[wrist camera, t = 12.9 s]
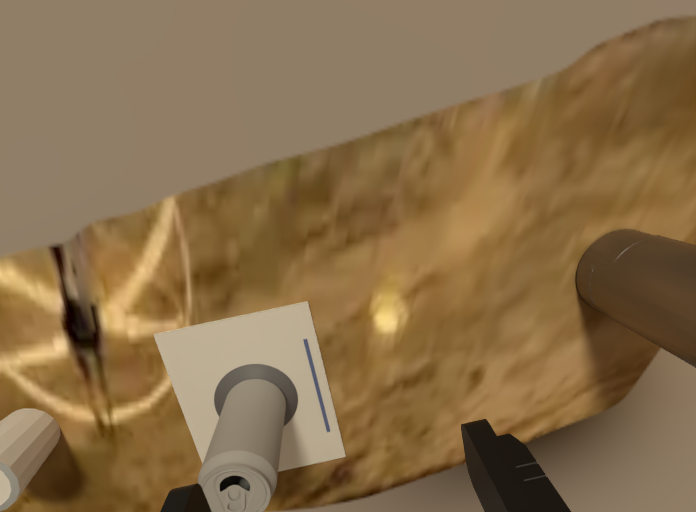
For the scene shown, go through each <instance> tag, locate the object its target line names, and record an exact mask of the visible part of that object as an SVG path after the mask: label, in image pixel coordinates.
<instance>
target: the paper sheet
mask: <svg viewBox="0 0 696 512" xmlns="http://www.w3.org/2000/svg"><path fill="white" fill-rule="evenodd" d="M154 338H155V341H156V343H157V346H158V348H159V351H160V354H161V356H162V359H163V362H164V364H165V367H166V369H167V372H168V375H169V377H170V380H171V383H172V385H173V388H174V390H175V393H176V396H177V398H178V401H179V403H180V406H181V409H182V411H183V414H184V417H185V419H186V422H187V424H188V427H189V430H190V432H191V435H192V438H193V440H194V443H195V445H196V448H197V451H198V453H199V456H200V458H201V461H202V464H203V462H204V459H205V456H206V453H207V450H208V448H209V445H210V442H211V439H212V436H213V434H214V431H215V428H216V425H217V423H218V420H219V417H220V414H221V411H222V409H223V406H224V403H225V400H226V397H227V395H228V393H229V392H230V390H231V389H232V388H233V387H234V386H235V385H237V384H238V383H240V382H242V381H245V380H249V379H262V380H266V381H269V382H271V383H273V384H274V385H276V386H277V387H278V388H279V389H280V390H281V391H282V393H283V395H284V397H285V401H286V409H285V418H284V426H283V435H282V443H281V451H280V460H279V468H278V472H279V471H284V470H288V469H293V468H298V467H302V466H307V465H311V464H316V463H320V462H325V461H329V460H334V459H338V458H343V457H346V454H345V450H344V446H343V442H342V438H341V434H340V430H339V426H338V422H337V418H336V414H335V409H334V405H333V401H332V397H331V393H330V389H329V385H328V381H327V377H326V373H325V369H324V365H323V361H322V356H321V352H320V348H319V344H318V340H317V336H316V332H315V328H314V324H313V320H312V316H311V312H310V308H309V304H308V301H306V302H301V303H297V304H292V305H287V306H283V307H278V308H273V309H268V310H264V311H259V312H254V313H250V314H245V315H240V316H236V317H231V318H226V319H222V320H217V321H212V322H208V323H203V324H198V325H193V326H189V327H184V328H179V329H175V330H170V331H165V332H161V333H156V334H154Z"/></svg>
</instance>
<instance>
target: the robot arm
mask: <svg viewBox="0 0 696 512" xmlns="http://www.w3.org/2000/svg"><path fill="white" fill-rule="evenodd" d="M576 282H577V288H578V291H579V293H580V296H581V297H582V298H583V300H584V301H585V302H586V303H587V304H589V305H590V306H591V307H593V308H595V309H596V310H598V311H600V312H601V313H603V314H605V315H607V316H608V317H610V318H612V319H613V320H615V321H617V322H618V323H620V324H622V325H623V326H625V327H627V328H629V329H630V330H632V331H634V332H635V333H637V334H639V335H641V336H642V337H644V338H646V339H647V340H649V341H651V342H653V343H654V344H656V345H658V346H659V347H661V348H663V349H665V350H666V351H668V352H670V353H671V354H673V355H675V356H677V357H678V358H680V359H682V360H684V361H685V362H687V363H689V364H690V365H692V366H694V367H695V368H696V245H693V244H689V243H685V242H681V241H678V240H674V239H670V238H666V237H662V236H655V235H651V234H647V233H643V232H640V231H636V230H627V229H623V230H618V231H613V232H611V233H609V234H606V235H604V236H603V237H601V238H600V239H598V240H597V241H596V242H595V243H593V244H592V245H591V246H590V247H589V249H588V250H587V251H586V252H585V254H584V255H583V257H582V259H581V261H580V263H579V267H578V270H577V278H576ZM461 431H462V438H463V444H464V451H465V457H466V464H467V468H468V472H469V476H470V478H471V481H472V484H473V487H474V489H475V491H476V494H477V496H478V498H479V500H480V502H481V505H482V507H483V509H484V511H485V512H571V511H570V509H569V508H568V507H567V505H566V504H565V502H564V501H563V499H562V498H561V496H560V495H559V494H558V492H557V490H556V489H555V488H554V486H553V485H552V483H551V482H550V480H549V479H548V477H546V475H545V473H544V472H543V470H542V469H541V467H540V466H539V464H537V462H536V460H535V459H534V457H533V456H532V454H531V453H530V451H529V450H528V448H527V447H526V446H525V445H524V444H523V443H522V442H520V441H519V440H518V439H516V438H515V437H513V436H512V435H511V434H505V435H501V436H496V434H495V432H494V431H493V429H492V427H491V426H490V424H489V423H488V421H487V420H486V419H483V420H478V421H474V422H469V423H465V424H461ZM161 512H212V511H211V509H210V506H209V504H208V501H207V499H206V496H205V494H204V492H203V489H202V487H201V485H200V484H193V485H188V486H184V487H180V488H175V489H172V490H171V491H170V492H169V494H168V496H167V498H166V500H165V503H164V505H163V507H162V509H161Z"/></svg>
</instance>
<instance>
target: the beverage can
mask: <svg viewBox="0 0 696 512" xmlns="http://www.w3.org/2000/svg"><path fill="white" fill-rule="evenodd" d="M285 409H286V401H285V397H284V395H283V393H282V391H281V390H280V389H279V388H278V387H277V386H276V385H274V384H273V383H271V382H269V381H266V380H262V379H249V380H245V381H242V382H240V383H238V384H237V385H235V386H234V387H233V388H232V389H231V390H230V392H229V393H228V395H227V397H226V400H225V403H224V406H223V409H222V411H221V414H220V417H219V420H218V423H217V425H216V428H215V431H214V434H213V436H212V439H211V442H210V445H209V448H208V450H207V453H206V456H205V459H204V462H203V464H202V467H201V470H200V473H199V476H198V484H200V485H201V487H202V489H203V492H204V494H205V496H206V499H207V501H208V504H209V506H210V509H211V511H212V512H263V511H264V510H265V509H266V507H267V506H268V504H269V501H270V498H271V497H272V495H273V493H274V491H275V489H276V485H277V477H278V468H279V460H280V451H281V443H282V435H283V426H284V418H285Z"/></svg>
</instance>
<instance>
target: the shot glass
mask: <svg viewBox="0 0 696 512" xmlns="http://www.w3.org/2000/svg"><path fill="white" fill-rule="evenodd" d="M60 435H61V434H60V427H59V425H58V424H57V422H56V421H55V419H54V418H53V417H51V416H50V415H48V414H47V413H46V412H43V411H40V410H37V409H21V410H18V411H15V412H13V413H11V414H10V415H9V416H7V417H6V418H4V419H3V420H2V421H0V511H2V510H5V509H7V508H8V507H9V506H11V505H12V504H13V503H14V502H15V501H16V500H17V499H18V497H19V496H20V495H21V493H22V492H23V490H24V489H25V488H26V486H27V485H28V483H29V482H30V481H31V479H32V478H33V476H34V475H35V474H36V472H37V471H38V469H39V468H40V467H41V465H42V464H43V463H44V461H45V460H46V458H47V457H48V456H49V454H50V453H51V451H52V450H53V449H54V447H55V446H56V444H57V443H58V441H59V438H60Z"/></svg>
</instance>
